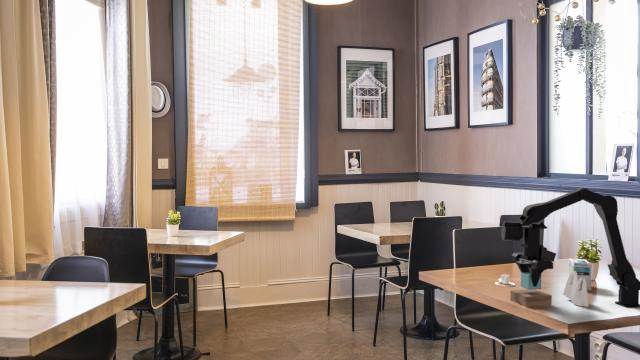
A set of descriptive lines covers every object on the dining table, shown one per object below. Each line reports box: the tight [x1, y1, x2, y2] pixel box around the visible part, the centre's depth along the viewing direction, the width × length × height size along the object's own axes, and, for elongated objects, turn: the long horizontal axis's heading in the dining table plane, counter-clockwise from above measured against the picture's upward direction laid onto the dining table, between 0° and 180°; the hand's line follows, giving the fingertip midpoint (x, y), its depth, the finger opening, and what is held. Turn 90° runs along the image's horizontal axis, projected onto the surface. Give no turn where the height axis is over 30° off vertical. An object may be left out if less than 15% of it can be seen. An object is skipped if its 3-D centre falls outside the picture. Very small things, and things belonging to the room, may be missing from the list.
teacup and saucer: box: [494, 273, 516, 287], centre depth 252 cm, size 9×8×4 cm
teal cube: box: [520, 272, 542, 290], centre depth 219 cm, size 5×5×5 cm
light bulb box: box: [568, 258, 592, 291], centre depth 246 cm, size 11×7×11 cm, turn 168°
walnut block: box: [509, 289, 553, 308], centre depth 219 cm, size 10×10×4 cm
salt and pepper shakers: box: [562, 271, 589, 308], centre depth 220 cm, size 12×4×11 cm, turn 4°
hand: (531, 284), depth 219 cm, fingers closed on teal cube, 5 cm apart
